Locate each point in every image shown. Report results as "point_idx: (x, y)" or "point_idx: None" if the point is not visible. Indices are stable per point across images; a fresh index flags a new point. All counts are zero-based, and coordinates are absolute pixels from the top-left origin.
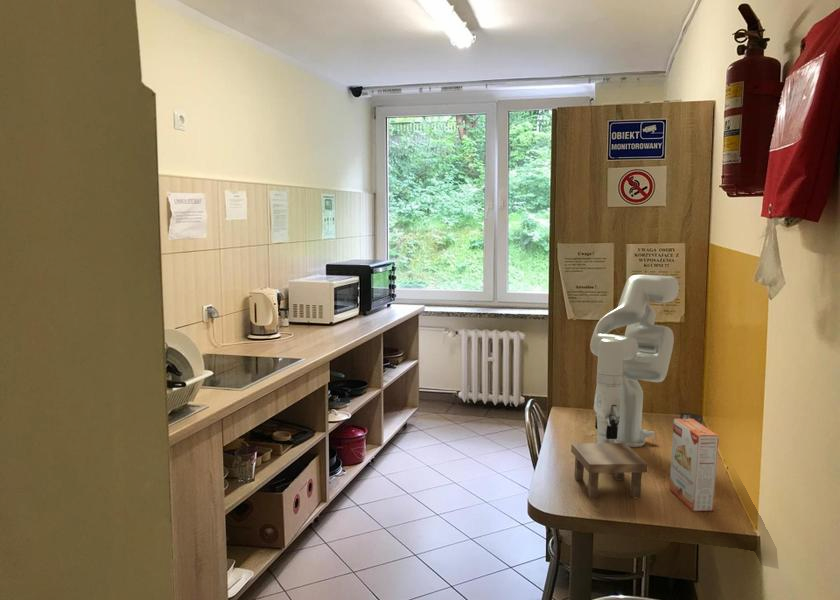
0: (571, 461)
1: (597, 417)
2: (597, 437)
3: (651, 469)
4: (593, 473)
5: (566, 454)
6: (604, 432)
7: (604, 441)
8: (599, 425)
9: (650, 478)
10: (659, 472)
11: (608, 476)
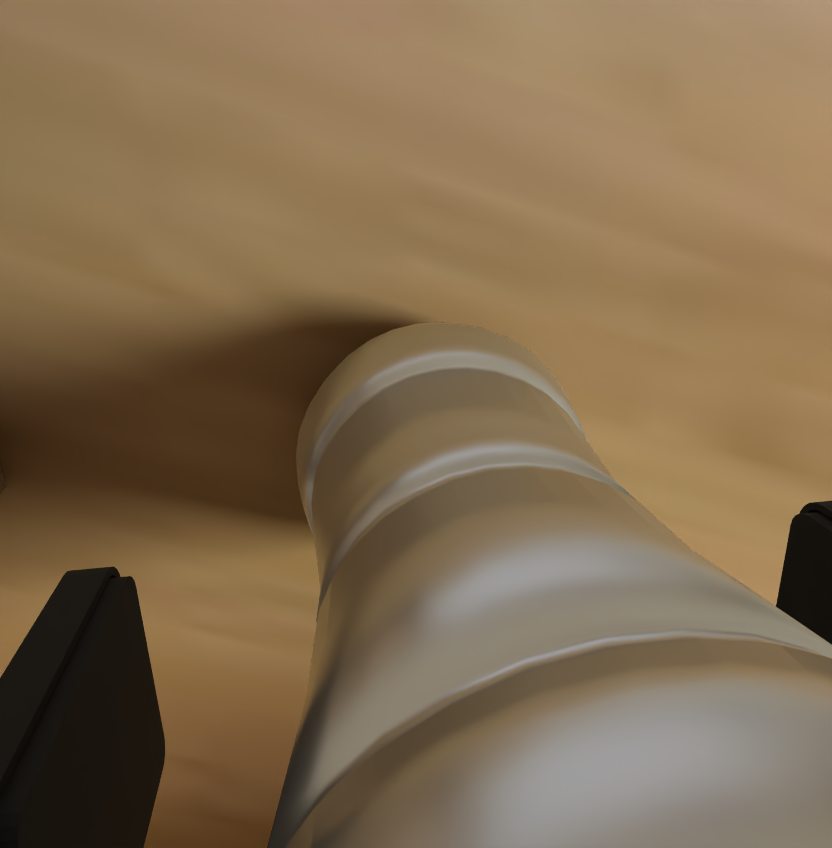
0: (482, 5)
1: (707, 719)
2: (524, 435)
3: (267, 801)
4: None
5: (727, 14)
6: (336, 606)
7: (341, 513)
8: (478, 591)
9: None
10: (199, 844)
11: (5, 353)
